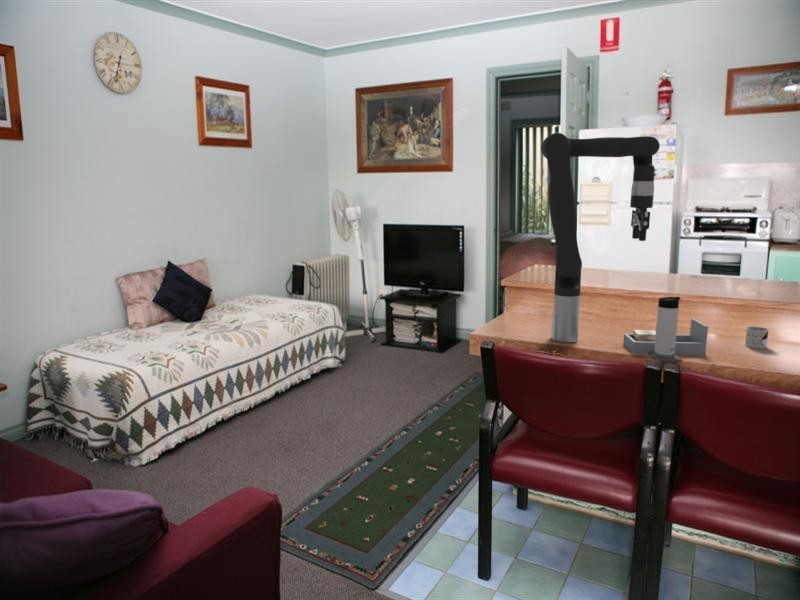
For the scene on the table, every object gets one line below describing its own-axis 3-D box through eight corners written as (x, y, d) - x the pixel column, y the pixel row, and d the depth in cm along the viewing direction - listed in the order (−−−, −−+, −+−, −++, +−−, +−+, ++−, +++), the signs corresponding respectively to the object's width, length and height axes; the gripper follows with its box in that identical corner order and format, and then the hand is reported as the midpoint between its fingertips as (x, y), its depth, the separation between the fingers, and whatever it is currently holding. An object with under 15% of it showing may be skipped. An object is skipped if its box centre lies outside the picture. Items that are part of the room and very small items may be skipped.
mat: (656, 361, 200) (656, 358, 199) (648, 354, 207) (648, 352, 207) (681, 361, 199) (681, 359, 199) (672, 354, 207) (673, 352, 207)
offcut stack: (635, 350, 213) (637, 334, 211) (631, 345, 219) (633, 329, 218) (660, 351, 211) (661, 335, 210) (655, 346, 218) (656, 330, 217)
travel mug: (677, 358, 199) (682, 298, 196) (656, 357, 201) (661, 298, 197) (673, 353, 205) (678, 295, 202) (652, 352, 207) (657, 294, 203)
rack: (632, 353, 209) (634, 325, 207) (623, 344, 221) (625, 317, 219) (705, 354, 207) (708, 326, 205) (691, 345, 219) (694, 318, 217)
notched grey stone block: (766, 350, 213) (768, 331, 211) (744, 347, 216) (746, 329, 215) (766, 343, 221) (768, 326, 220) (745, 341, 224) (747, 323, 223)
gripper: (626, 193, 224) (622, 237, 227) (637, 194, 210) (633, 241, 213) (647, 194, 223) (643, 238, 226) (659, 194, 209) (655, 241, 212)
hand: (638, 239), depth 219 cm, fingers open, 8 cm apart
